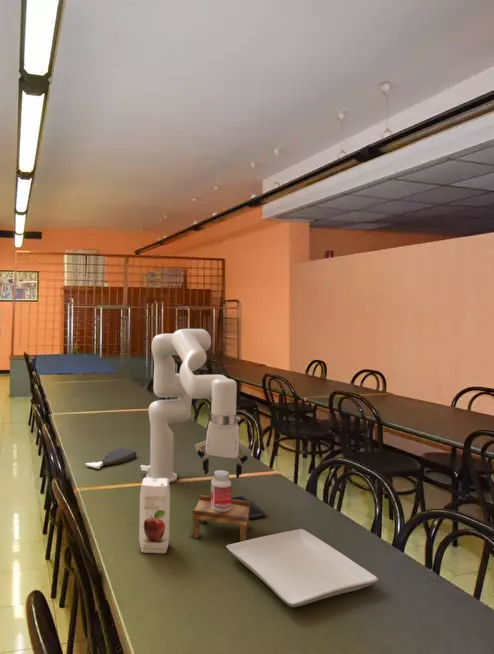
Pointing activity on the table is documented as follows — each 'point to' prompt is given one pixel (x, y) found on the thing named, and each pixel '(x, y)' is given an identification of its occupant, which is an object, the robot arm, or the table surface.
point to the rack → (222, 515)
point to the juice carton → (154, 515)
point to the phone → (251, 508)
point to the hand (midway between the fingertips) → (222, 474)
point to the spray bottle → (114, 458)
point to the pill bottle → (221, 491)
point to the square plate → (301, 567)
